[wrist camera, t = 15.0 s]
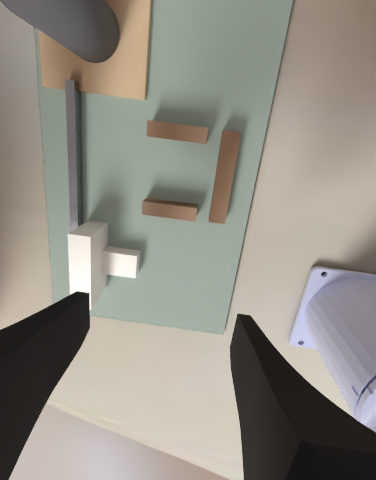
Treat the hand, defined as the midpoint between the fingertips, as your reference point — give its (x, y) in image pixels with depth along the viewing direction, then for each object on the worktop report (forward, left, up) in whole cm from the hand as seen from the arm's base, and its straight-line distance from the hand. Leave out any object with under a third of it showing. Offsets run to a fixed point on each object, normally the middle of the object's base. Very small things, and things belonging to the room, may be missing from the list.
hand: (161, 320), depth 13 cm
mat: (+3, -5, -10) cm, 11 cm away
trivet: (+7, -14, -10) cm, 18 cm away
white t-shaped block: (+5, +2, -9) cm, 11 cm away
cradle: (0, -6, -10) cm, 11 cm away
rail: (+8, -3, -10) cm, 13 cm away
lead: (+7, -14, -9) cm, 18 cm away
